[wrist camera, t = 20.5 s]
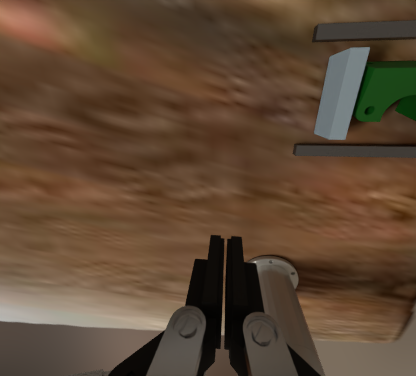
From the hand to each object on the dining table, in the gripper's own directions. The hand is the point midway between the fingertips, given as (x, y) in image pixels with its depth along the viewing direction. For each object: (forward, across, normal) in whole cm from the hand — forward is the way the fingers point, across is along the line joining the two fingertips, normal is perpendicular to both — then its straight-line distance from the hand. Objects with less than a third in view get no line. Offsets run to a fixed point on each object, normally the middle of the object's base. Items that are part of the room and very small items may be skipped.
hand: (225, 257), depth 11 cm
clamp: (+25, -22, -9) cm, 34 cm away
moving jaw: (+24, -14, -8) cm, 29 cm away
